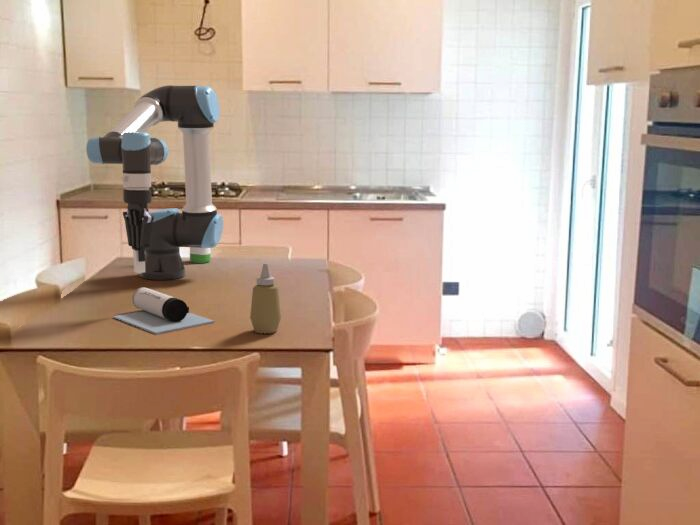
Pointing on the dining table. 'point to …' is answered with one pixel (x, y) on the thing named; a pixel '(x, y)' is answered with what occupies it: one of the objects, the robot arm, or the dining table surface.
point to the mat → (161, 322)
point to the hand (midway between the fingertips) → (139, 272)
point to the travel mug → (160, 304)
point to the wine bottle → (200, 255)
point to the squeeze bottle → (265, 304)
